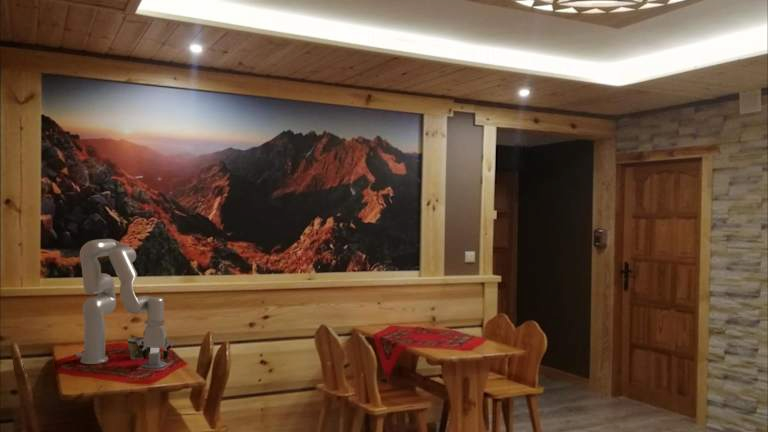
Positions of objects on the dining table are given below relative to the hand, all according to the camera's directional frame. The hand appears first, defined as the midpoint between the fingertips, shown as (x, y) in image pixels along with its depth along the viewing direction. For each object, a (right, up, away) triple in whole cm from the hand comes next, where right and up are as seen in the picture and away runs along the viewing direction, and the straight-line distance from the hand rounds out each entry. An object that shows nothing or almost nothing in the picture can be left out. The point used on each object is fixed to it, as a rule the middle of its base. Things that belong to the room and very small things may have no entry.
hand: (155, 358), depth 326 cm
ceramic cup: (-13, -3, +13) cm, 19 cm away
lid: (0, -4, 0) cm, 4 cm away
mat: (-1, -4, 0) cm, 4 cm away
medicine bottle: (-12, -3, +27) cm, 30 cm away
